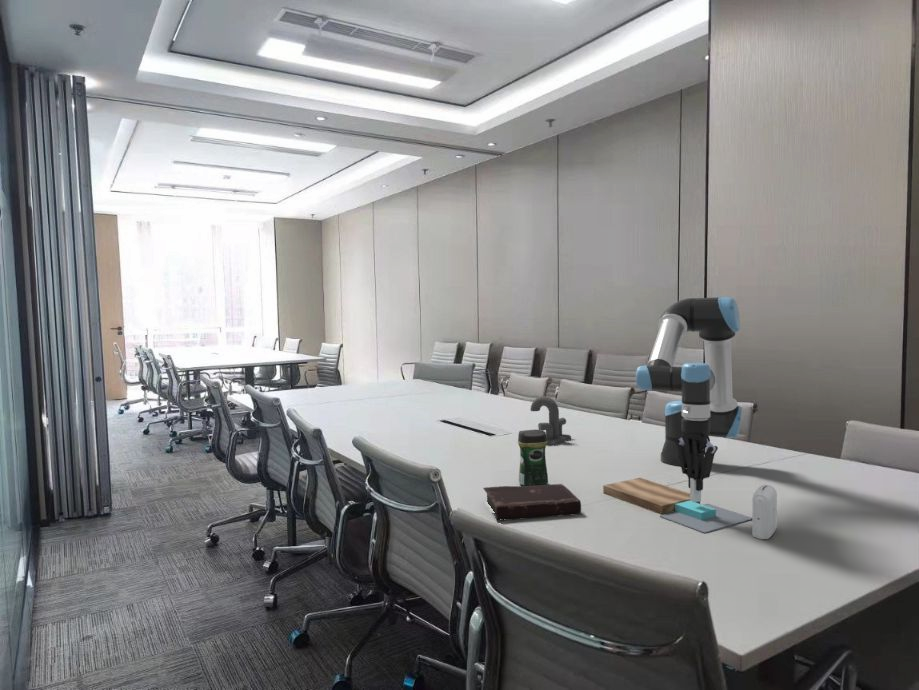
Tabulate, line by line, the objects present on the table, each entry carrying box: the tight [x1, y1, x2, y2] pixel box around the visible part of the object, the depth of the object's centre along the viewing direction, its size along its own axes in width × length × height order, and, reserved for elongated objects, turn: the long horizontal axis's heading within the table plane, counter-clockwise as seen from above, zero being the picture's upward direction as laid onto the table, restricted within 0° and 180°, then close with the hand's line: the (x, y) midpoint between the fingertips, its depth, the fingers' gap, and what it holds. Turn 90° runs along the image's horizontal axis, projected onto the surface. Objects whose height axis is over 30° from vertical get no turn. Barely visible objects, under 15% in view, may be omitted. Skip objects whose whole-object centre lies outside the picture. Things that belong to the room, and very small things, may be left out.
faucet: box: [529, 395, 572, 446], centre depth 271 cm, size 18×16×20 cm
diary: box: [483, 483, 582, 521], centre depth 179 cm, size 19×25×5 cm
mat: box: [659, 503, 752, 534], centre depth 167 cm, size 20×15×1 cm
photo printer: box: [751, 484, 778, 540], centre depth 155 cm, size 10×4×12 cm, turn 140°
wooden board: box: [602, 477, 701, 515], centre depth 185 cm, size 16×24×2 cm, turn 29°
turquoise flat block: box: [674, 501, 716, 520], centre depth 170 cm, size 6×9×2 cm, turn 29°
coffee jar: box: [517, 429, 549, 486], centre depth 202 cm, size 10×8×19 cm
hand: (695, 500), depth 170 cm, fingers closed
